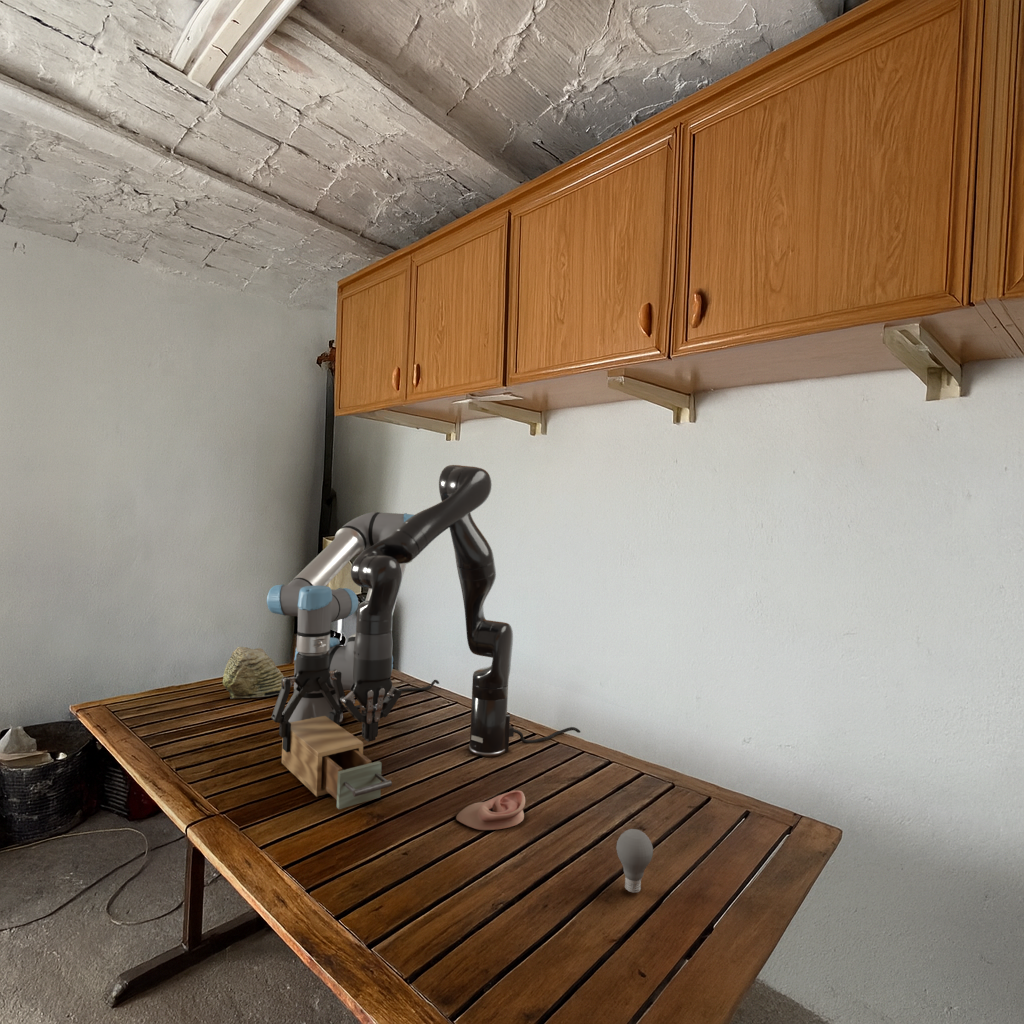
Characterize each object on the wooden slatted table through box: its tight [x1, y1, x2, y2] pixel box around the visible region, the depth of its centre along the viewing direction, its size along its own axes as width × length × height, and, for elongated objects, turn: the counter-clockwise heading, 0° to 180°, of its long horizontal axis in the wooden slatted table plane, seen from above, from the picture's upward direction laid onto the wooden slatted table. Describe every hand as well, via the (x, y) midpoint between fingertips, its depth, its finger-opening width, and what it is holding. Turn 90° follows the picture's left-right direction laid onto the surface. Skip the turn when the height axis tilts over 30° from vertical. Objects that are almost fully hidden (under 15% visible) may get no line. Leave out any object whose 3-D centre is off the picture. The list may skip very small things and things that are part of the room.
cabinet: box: [281, 716, 364, 798], centre depth 145 cm, size 21×10×9 cm, turn 40°
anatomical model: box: [455, 789, 526, 831], centre depth 128 cm, size 13×4×12 cm
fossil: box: [222, 646, 285, 699], centre depth 198 cm, size 9×18×15 cm, turn 132°
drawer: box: [321, 749, 393, 810], centre depth 135 cm, size 25×9×7 cm, turn 40°
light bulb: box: [615, 828, 654, 894], centre depth 106 cm, size 6×6×10 cm
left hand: (309, 744), depth 150 cm, fingers closed on cabinet, 10 cm apart
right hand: (369, 739), depth 127 cm, fingers closed
